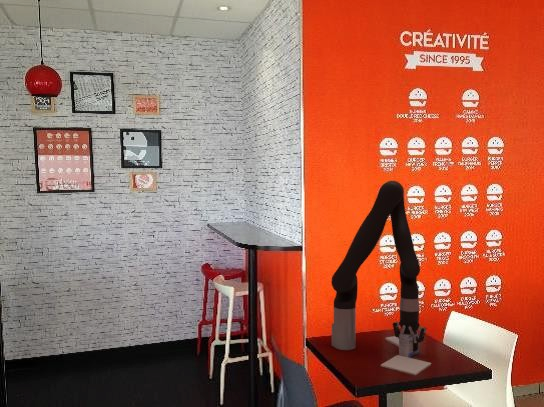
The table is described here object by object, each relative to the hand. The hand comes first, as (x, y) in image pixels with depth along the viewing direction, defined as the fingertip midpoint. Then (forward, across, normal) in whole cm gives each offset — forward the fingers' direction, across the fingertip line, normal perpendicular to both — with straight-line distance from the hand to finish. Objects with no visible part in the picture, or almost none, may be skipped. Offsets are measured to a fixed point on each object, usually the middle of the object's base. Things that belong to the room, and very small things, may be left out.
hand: (409, 349), depth 202 cm
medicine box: (+2, 0, 0) cm, 2 cm away
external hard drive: (+3, -9, +11) cm, 14 cm away
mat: (+2, +4, -12) cm, 13 cm away
